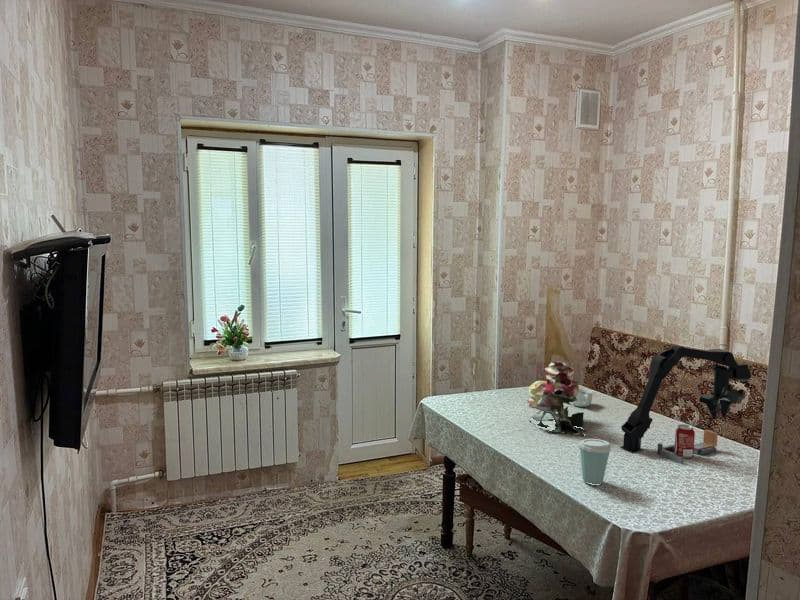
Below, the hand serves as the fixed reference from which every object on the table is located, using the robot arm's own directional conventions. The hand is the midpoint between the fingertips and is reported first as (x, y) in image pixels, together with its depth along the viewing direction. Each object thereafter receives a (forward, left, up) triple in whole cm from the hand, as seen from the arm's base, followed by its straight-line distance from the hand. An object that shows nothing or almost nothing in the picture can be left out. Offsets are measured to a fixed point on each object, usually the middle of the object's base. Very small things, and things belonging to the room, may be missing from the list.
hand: (719, 418), depth 235 cm
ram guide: (-9, 0, -12) cm, 15 cm away
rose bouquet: (-41, +51, -13) cm, 66 cm away
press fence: (-22, 0, -12) cm, 25 cm away
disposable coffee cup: (-70, -3, -13) cm, 71 cm away
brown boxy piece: (-9, 0, -12) cm, 15 cm away
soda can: (-20, 0, -13) cm, 24 cm away
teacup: (-9, +68, -13) cm, 70 cm away
